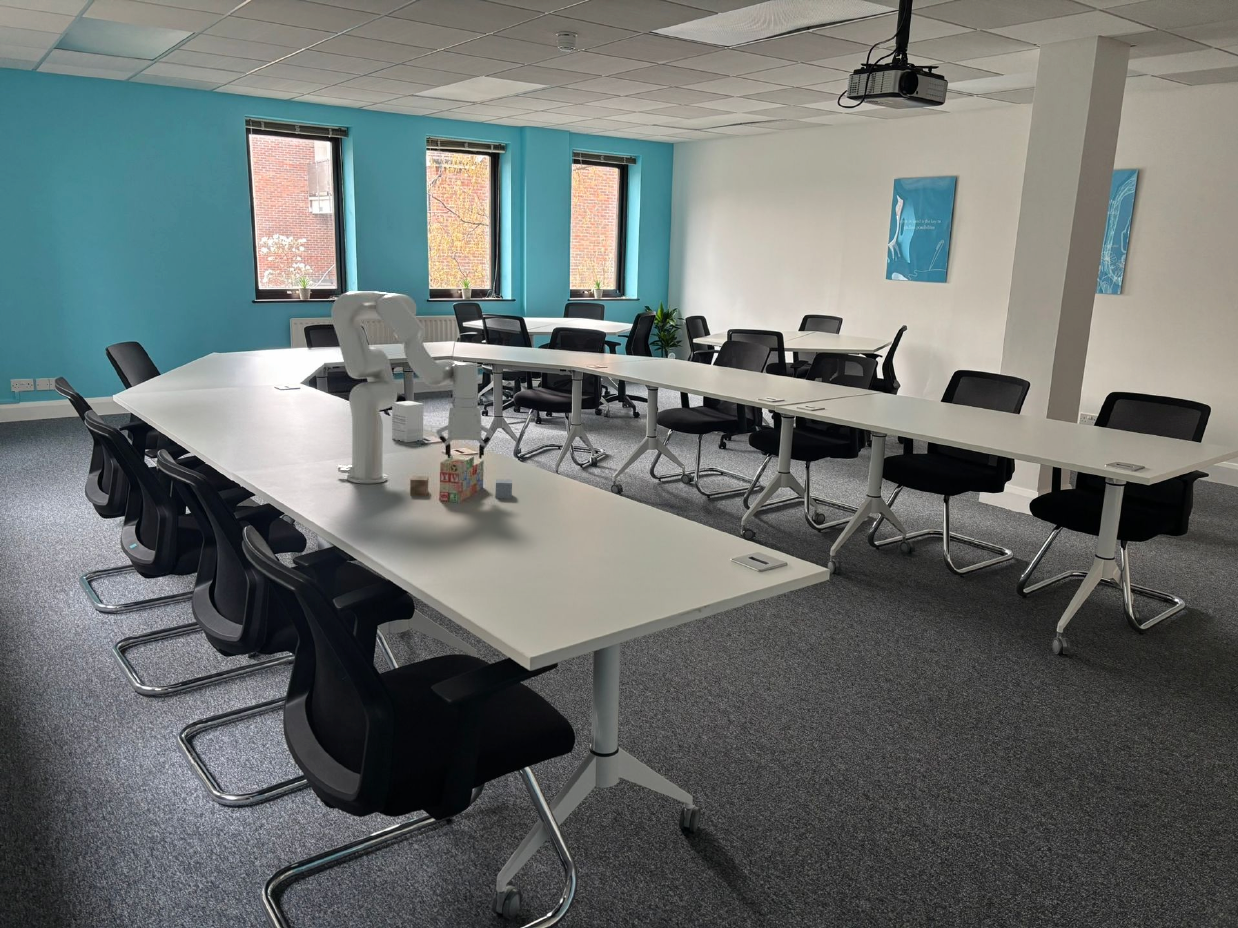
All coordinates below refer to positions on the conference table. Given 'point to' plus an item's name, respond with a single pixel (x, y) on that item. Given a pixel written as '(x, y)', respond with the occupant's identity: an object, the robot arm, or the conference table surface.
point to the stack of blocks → (460, 477)
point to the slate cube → (503, 488)
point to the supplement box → (407, 421)
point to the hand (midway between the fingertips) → (464, 457)
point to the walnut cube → (419, 485)
